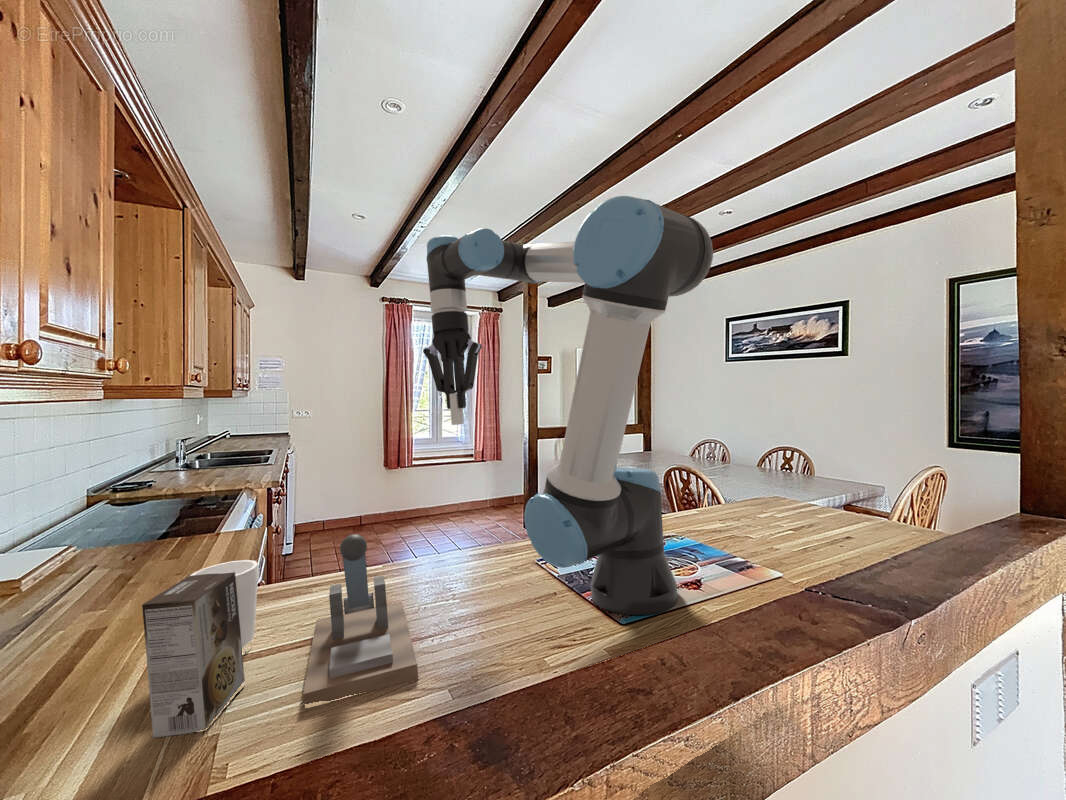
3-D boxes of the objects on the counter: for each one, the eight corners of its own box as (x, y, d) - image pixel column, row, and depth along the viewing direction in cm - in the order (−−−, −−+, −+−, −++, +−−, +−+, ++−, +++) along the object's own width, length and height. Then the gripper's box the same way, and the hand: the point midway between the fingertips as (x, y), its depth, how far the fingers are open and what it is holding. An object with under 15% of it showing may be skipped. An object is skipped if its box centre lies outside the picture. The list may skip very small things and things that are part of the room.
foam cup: (230, 671, 69) (223, 583, 69) (177, 667, 71) (171, 582, 71) (277, 637, 79) (271, 559, 78) (230, 635, 80) (224, 559, 80)
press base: (317, 631, 80) (313, 578, 80) (402, 612, 85) (398, 562, 84) (304, 709, 59) (298, 638, 59) (418, 678, 64) (413, 612, 64)
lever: (344, 600, 77) (335, 531, 66) (372, 594, 78) (368, 526, 68) (345, 621, 74) (336, 553, 64) (374, 614, 76) (370, 547, 65)
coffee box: (197, 691, 65) (188, 574, 64) (246, 686, 65) (237, 570, 65) (149, 739, 56) (138, 603, 55) (207, 732, 56) (196, 598, 56)
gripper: (484, 311, 101) (493, 421, 102) (431, 319, 105) (439, 424, 106) (469, 306, 94) (478, 424, 94) (412, 314, 98) (421, 427, 98)
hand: (457, 424), depth 100 cm, fingers closed
